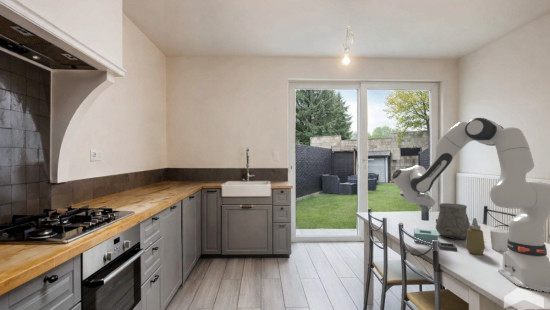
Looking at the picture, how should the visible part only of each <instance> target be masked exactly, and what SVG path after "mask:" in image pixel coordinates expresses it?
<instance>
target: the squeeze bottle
mask: <svg viewBox="0 0 550 310" xmlns="http://www.w3.org/2000/svg"><path fill="white" fill-rule="evenodd" d="M465 239H466V240H465V246H466V249H467V253H469V254H473V255H478V256H481V255H483V253H484V250H485V249H486V245H485V239H484V232H483V230H482V229H481V225H479V224H478V221H477V218H476V217H473V219H472V222H471V223H470V228H469V229H467V238H465Z"/></svg>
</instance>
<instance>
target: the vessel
mask: <svg viewBox="0 0 550 310" xmlns="http://www.w3.org/2000/svg"><path fill="white" fill-rule="evenodd" d="M438 207H439V212H438V216H437V218H436V219H435V223H436V224H435V231H436V232H437V234H440V235H441V236H443V237H447V238H451V239H458V240H461V239H462V240H463V239H467V229H469V228H470V224H471V223H470V221H469V217H468V213H467V208H468V206H467V205H466V204H462V203H461V204H460V203H448V202H447V203H444V202H443V203H439V204H438Z"/></svg>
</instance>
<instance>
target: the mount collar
mask: <svg viewBox="0 0 550 310" xmlns="http://www.w3.org/2000/svg"><path fill="white" fill-rule="evenodd" d="M437 245H439V246H438V248H439V250H443V251H444V250H445V251H454V252H457V251H458V248H457V246H456V244H455V243H449V242H440V241H438V244H437Z"/></svg>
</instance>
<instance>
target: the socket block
mask: <svg viewBox="0 0 550 310" xmlns="http://www.w3.org/2000/svg"><path fill="white" fill-rule="evenodd" d="M414 237H416V238H419V239H421V240H423V241H426V242H430V243H432V240H438V241H439V236H438V231H437V230H436V229H435V230H433V229H422V228H421V229H420V228H413V238H414ZM413 240H414V239H413ZM415 242H416V243H418V242H417V241H415V240H414V243H415ZM430 243H429V244H430Z"/></svg>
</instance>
